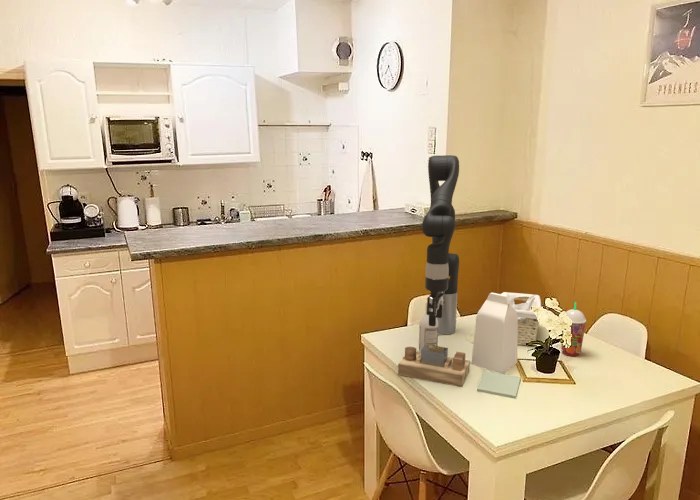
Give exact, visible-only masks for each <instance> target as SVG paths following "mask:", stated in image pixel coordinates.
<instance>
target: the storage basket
mask: <svg viewBox="0 0 700 500" xmlns="http://www.w3.org/2000/svg"><path fill="white" fill-rule="evenodd" d="M500 294H501V295H506V296H507V297H508V300H509V303H510V305H511V306H512V307H513V309H514V310H515V311H516V312H517V315H518V337H517V346H527V345H526V343H527V342H529V341H536V342H537V335H538V329H539V325H540V321H539V322H538V320H537V317H536V315H535V314H534V313H533V312H532V311H531V307H532V306H537V307H540V308H541V309H542V301H541V296H540V295H538V294H531V293H521V292H520V293H519V292H507V291H503V292H502V293H500ZM515 301H523V302H522V303H518V304H515V303H516V302H515Z"/></svg>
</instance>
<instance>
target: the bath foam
mask: <svg viewBox="0 0 700 500" xmlns="http://www.w3.org/2000/svg"><path fill="white" fill-rule="evenodd" d="M431 312H433V309H431ZM418 332H419V333H418V352H420V353H421V349H422V348H423V347H424V345H425V344H426V345H433V346H439V344H438V343H439V333H438V320H437V318H436V325H435V326H429V315H427V302H425V313H423V315H422V316H421V318H420V321H419V331H418Z"/></svg>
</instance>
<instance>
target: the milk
mask: <svg viewBox="0 0 700 500" xmlns="http://www.w3.org/2000/svg"><path fill="white" fill-rule="evenodd" d="M517 337H518V315H517V312H516V311H515V310H514V309H513V307H512V306H511V305H510V303H509V300H508V297H507V296H506V295H501V293H496V292H490V293H488V295H487V298H486V300H485V301H484V303H483V304H482V305H481V307H480V309H478V312H477V314H476V317H475V325H474V335H473V342H472V343H473V345H472V354H471V362H470V364H471V365H474V366H477V367H480V368H482V369H486V370H489V371H491V372H495V373H501V374H505V373H506V372H507V371H509V369H511V368H512V367H515V365H516V363H517V364H518V344H517Z"/></svg>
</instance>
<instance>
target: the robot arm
mask: <svg viewBox="0 0 700 500" xmlns="http://www.w3.org/2000/svg"><path fill="white" fill-rule="evenodd" d="M427 162H428V166H427V171H428V180H429V181H428V182H429V191H430V205H429V206H430V207H429V209H428V211H427V213H426V215H425V216H424V218H423V219H422V220H423V221H422V222H421V223H422V224H421V231H422V233H423V235H425V236H426V237H429V238H431V241H432V243H431V244H428V246H427V248H426V264H425V278H424V279H425V281H424V282H425V283H424V288H425V289H426V290H427V291H429V292H430V294H429V295H428V296H427V298H426V300H427V301H426V303H427V315H429V326H435V325H436V318H437V320H438V334H441V335H452V334H454V333H456V331H457V330H456V329H457V328H456V327H457V310H458V308H457V307H458V306H457V304H458V281H459V279H458V278H459V269H460V257H459V255H458V254H457V253H452V252H451V253H450V245H451V242H452V239H453V236H454V232H455V229H456V210H455V208H454V206H453V204H452V203H453V197H454V193H455V190H456V186H457V182H458V180H459V175H460V160H459V157H458V156H456V155H450V154H449V155H431V156H430V157H429V160H428V161H427ZM439 182H442V184H441V185H440V183H439ZM431 309H433V312H431Z"/></svg>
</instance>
